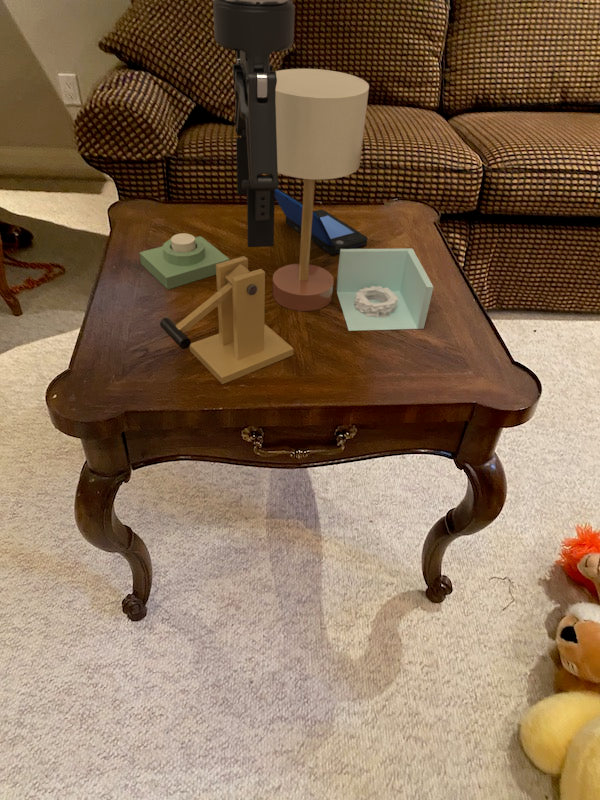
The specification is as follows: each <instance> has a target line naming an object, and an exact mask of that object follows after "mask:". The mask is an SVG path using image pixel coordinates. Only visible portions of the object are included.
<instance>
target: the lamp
mask: <svg viewBox="0 0 600 800" xmlns="http://www.w3.org/2000/svg"><path fill="white" fill-rule="evenodd" d="M275 71H276V77H277V84H276V99H275V103H276V135H277V166H278V174H279V175H283V176H287V177H291V178H296V179H302V180H303V190H302V191H303V192H302V204H303V206H302V224H301V234H300V241H299V243H300V244H299V259H298V260H299V262H298V263H291V264H286V265H283V266H281V267H279V268H277V270H275V272H274V273H273V275H272V286H271V288H272V290H271V294H272V298H273V300H274V301H275V303H277V304H278V305H280V306H281V307H283V308H286V309H289V310H292V311H297V312H313V311H317V310H321V309H323V308H325V307H327V306H328V305H329V304H330V303H331V302H332V300H333V294H334V285H335V284H334V283H335V280H334V277H333V275H332V273H330V271H328V270H327V269H325V268H323V267H321V266H318V265H315V264H311V263H310V261H311V260H310V258H311V244H312V240H311V231H312V217H313V211H314V200H315V188H316V187H315V186H316V180H333V179H339V178H343V177H347V176H349V175H352V174H354V173H355V172H357V171H358V170H359V168H360V166H361V162H362V161H361V160H362V153H363V144H364V137H365V136H364V135H365V127H366V119H367V110H368V102H369V93H370V85H369V82H367V81H366V80H364V79H363V78H361V77H358V76H356V75H353V74H350V73H346V72H342V71H335V70H329V69H319V68H289V69H288V68H287V69H279V70H275Z"/></svg>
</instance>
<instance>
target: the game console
mask: <svg viewBox="0 0 600 800" xmlns="http://www.w3.org/2000/svg"><path fill="white" fill-rule="evenodd" d="M275 200H276V202H277V203H278V206H279V207H280V209H281V210H282V212H283V214H284V216H285V224H286V226H288V227H289V228H292V229H293V230H294V231H295V232H297V233H299V234H300V235H301V224H302V206H303V202H301V201H299V200H298V199H296V198H295V197H293V196H291V195H290V194H289V193H287V192H285V191H283V190H281V189H280V188H278V189H275ZM368 239H369V238H368V237H367V236H366V235H365V234H363V233H361V232H360V231H359V230H357V229H356V228H354V227H352V226H350V225H349V224H348V223H346V222H344V221H343V220H341V219H339V218H338V217H336V216H335V215H333V214H332V213H330V212H328V211H326V210H324V209H316V210H313V217H312V231H311V243H313V244H315V245H316V246H317V247H319V248H320V249H322V250H323V251H325V252H326V253H327V254H329V255H330V256H334V255H336V254H337V253H340V249H357V248H359V247H363V246H365V245H367V244H368V241H369V240H368Z"/></svg>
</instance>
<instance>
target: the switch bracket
mask: <svg viewBox="0 0 600 800" xmlns="http://www.w3.org/2000/svg"><path fill="white" fill-rule="evenodd" d="M240 264H241V265H243V266H244V267H245V268H246V269H248V270H249V258H248V257H246V256H245V255H242V256H239V257H235V258H233V259H230V260H229V261H225V262H222V263H219V264H216V275H215V276H216V277H215V278H216V292H218V291H219V290H220V289H221V288H223V287H224V286H225V285H226V284H228V282H227V280H226V279H225V276H226V275H228V274H229V273H230V272H231V271H233V270H234V269H235V268H236V267H238V266H239V265H240ZM265 300H266V271H264V270H263V269H262V268H259V269H258V268H257V269H255V270H252V271H250V272H249V273H245V274H242V275H239V276H236V277H233V278H232V295H230V296H229V297H228V298H227V299H225V300H224V301H223V302H222V303H220V304H219V305H218V306H217V317H218V319H217V320H218V333H217V334H213V335H210V336H207V337H205V338H202V339H199V340H196V341H194V342H191V344H190V346H189V351H190V353H191V354H192V355H193V356H194V357H195V358H196V359H197V360H198V361H199V362H200V363H201V364H202V366H204V367H205V368H206V369H207V370H208V371H209V372H210V374H211V375H213V377H214V378H216V380H217V381H218V382H219V383H220V384H221V385H224V384H227V383H229V382H232V381H234V380H236V379H239V378H242V377H244V376H246V375H249V374H251V373H253V372H256V371H258V370H260V369H264V368H266V367H268V366H270V365H273V364H276V363H277V362H280V361H282V360H285V359H287V358H290V357H292V356H294V352H295V351H294V349H295V348H294V347H292V346H291V345H290V344H289V343H288V342H286V341H285V340H284V338H282V337H281V336H280V335H278V334H277V333H276V332H275V331H274V330H273V329H272V328H270V327H269V326H268V325H267V324H266V323H265V312H266V311H265V309H266V308H265V307H266V306H265V302H266V301H265Z"/></svg>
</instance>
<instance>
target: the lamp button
mask: <svg viewBox="0 0 600 800" xmlns="http://www.w3.org/2000/svg"><path fill="white" fill-rule="evenodd" d="M195 237H196V236H194V235H193V234H190V233H183V232H182V233H176V234H174V235H172V236H171V238H170V239H171V245H172V250H173V251H175V252H179V253H188V252H191V251H194V250H195V249H196V245H195Z"/></svg>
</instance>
